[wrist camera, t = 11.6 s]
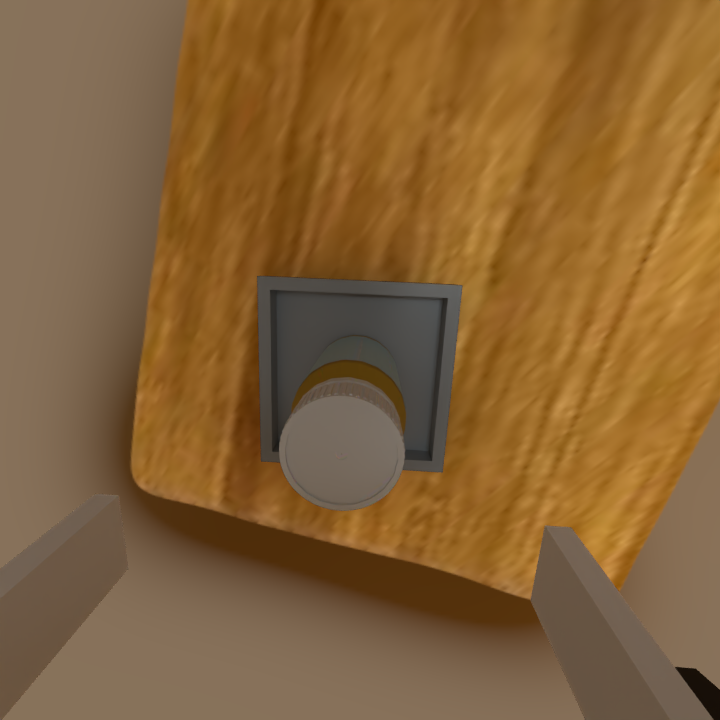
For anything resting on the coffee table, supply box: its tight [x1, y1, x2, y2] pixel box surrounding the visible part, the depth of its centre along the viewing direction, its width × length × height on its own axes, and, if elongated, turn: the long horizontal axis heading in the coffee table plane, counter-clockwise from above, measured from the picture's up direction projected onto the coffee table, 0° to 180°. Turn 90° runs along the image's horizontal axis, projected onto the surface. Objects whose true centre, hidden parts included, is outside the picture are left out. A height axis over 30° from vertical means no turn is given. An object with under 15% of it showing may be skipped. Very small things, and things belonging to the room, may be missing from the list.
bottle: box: [279, 335, 406, 511], centre depth 25 cm, size 7×7×15 cm
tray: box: [257, 276, 462, 472], centre depth 32 cm, size 16×16×2 cm
